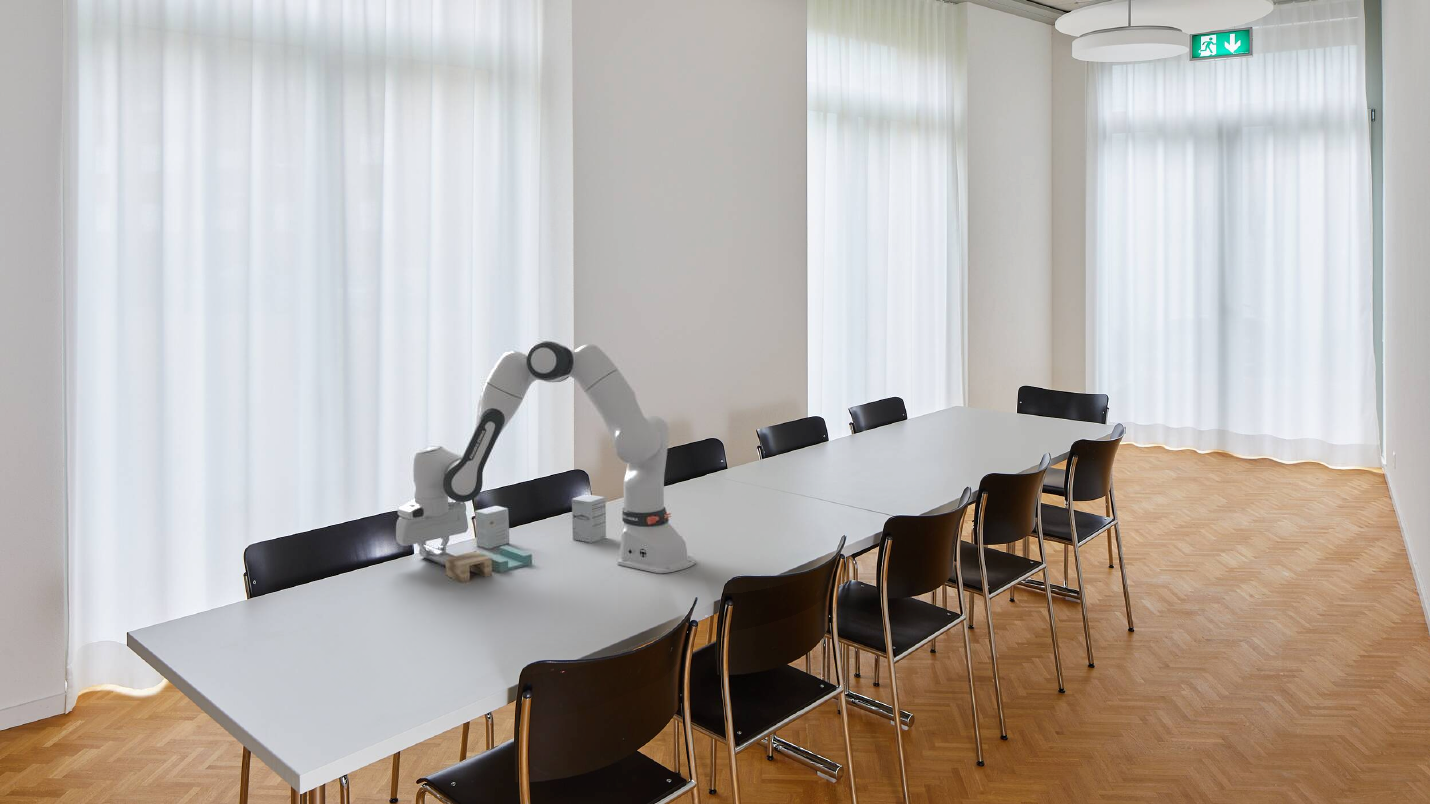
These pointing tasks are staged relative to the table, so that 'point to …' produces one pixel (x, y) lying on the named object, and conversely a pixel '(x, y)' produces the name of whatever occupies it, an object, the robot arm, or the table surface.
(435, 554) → the axle
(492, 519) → the small box
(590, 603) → the table surface
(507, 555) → the cradle
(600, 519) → the supplement box
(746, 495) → the table surface
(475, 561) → the wooden bridge block
